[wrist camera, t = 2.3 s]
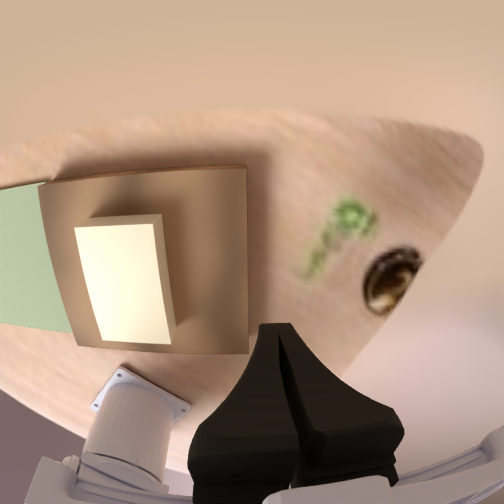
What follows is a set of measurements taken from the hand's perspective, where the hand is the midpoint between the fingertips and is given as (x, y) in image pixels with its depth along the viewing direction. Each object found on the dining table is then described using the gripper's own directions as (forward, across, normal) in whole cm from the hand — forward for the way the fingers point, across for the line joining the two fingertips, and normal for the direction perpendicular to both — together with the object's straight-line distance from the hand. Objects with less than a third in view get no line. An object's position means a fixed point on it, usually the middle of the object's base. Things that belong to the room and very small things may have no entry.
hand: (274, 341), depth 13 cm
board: (+9, +8, 0) cm, 12 cm away
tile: (+6, +8, 0) cm, 10 cm away
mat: (+9, +22, 0) cm, 24 cm away
